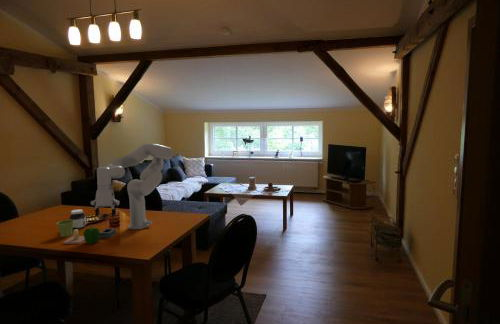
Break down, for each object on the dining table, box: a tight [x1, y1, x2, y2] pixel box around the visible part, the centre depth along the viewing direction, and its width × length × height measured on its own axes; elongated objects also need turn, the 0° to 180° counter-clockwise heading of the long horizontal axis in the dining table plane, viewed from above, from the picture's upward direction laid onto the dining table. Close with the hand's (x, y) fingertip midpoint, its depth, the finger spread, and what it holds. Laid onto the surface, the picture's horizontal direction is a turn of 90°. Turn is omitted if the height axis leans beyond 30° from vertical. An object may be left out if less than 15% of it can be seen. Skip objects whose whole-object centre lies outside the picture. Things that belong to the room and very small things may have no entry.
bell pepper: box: [83, 224, 100, 245], centre depth 189 cm, size 8×8×10 cm
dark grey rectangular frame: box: [99, 227, 117, 239], centre depth 200 cm, size 6×8×3 cm
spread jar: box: [68, 209, 87, 230], centre depth 216 cm, size 12×11×12 cm
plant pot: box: [56, 219, 74, 238], centre depth 201 cm, size 9×9×9 cm
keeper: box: [62, 229, 86, 245], centre depth 192 cm, size 10×10×6 cm
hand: (105, 215), depth 198 cm, fingers open, 9 cm apart
